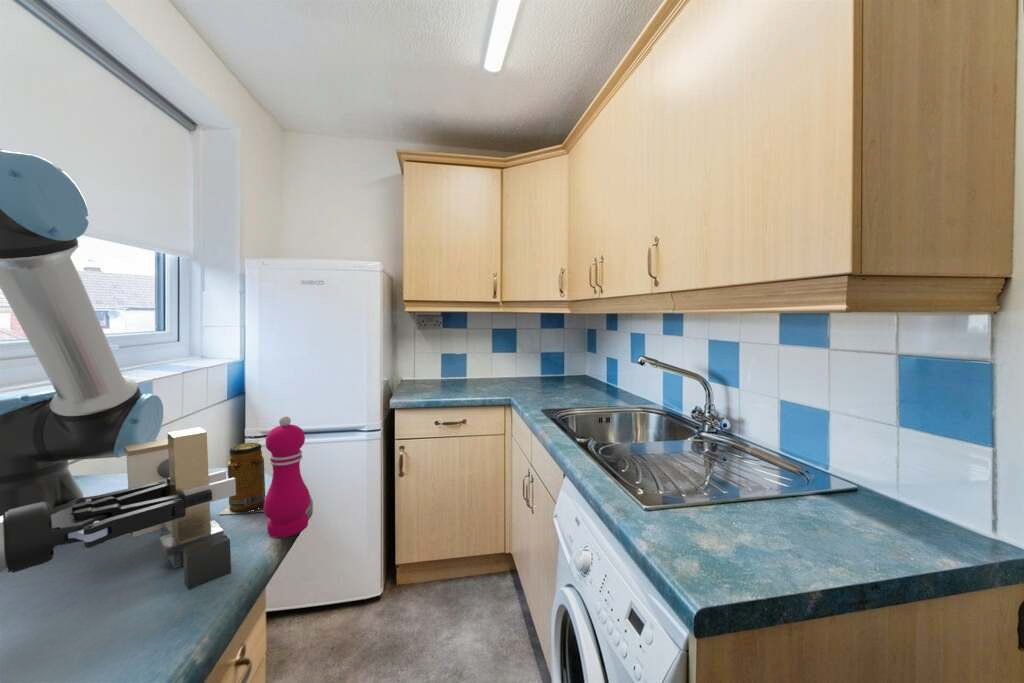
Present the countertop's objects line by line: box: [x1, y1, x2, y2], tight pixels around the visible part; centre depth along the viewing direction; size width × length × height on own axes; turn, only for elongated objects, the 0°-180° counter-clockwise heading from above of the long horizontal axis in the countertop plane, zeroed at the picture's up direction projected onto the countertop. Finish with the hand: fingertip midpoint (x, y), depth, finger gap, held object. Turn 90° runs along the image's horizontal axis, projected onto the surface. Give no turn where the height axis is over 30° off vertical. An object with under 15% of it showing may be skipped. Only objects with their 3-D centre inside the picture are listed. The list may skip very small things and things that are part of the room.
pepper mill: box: [263, 415, 311, 539], centre depth 71 cm, size 7×7×20 cm
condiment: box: [218, 442, 266, 515], centre depth 80 cm, size 7×8×12 cm
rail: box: [160, 521, 232, 591], centre depth 65 cm, size 24×5×5 cm, turn 50°
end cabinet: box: [124, 438, 170, 538], centre depth 74 cm, size 5×10×15 cm, turn 140°
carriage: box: [158, 426, 225, 569], centre depth 63 cm, size 5×7×19 cm
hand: (229, 482), depth 67 cm, fingers closed on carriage, 4 cm apart
